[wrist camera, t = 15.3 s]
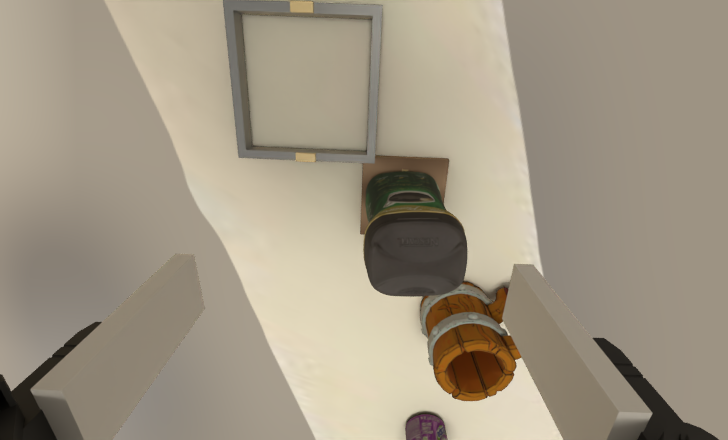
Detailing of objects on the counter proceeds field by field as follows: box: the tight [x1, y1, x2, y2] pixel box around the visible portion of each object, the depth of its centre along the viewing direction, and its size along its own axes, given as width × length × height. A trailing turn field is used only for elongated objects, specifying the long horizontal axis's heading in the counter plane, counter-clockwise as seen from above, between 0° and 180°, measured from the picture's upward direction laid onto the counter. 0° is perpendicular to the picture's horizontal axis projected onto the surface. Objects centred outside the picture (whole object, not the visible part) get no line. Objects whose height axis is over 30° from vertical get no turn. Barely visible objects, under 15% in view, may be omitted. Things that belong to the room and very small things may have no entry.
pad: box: [360, 155, 449, 234], centre depth 47 cm, size 11×11×1 cm
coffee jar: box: [363, 171, 467, 296], centre depth 38 cm, size 10×8×19 cm
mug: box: [420, 282, 521, 401], centre depth 47 cm, size 11×16×15 cm, turn 118°
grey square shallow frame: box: [223, 0, 382, 164], centre depth 41 cm, size 17×17×3 cm
